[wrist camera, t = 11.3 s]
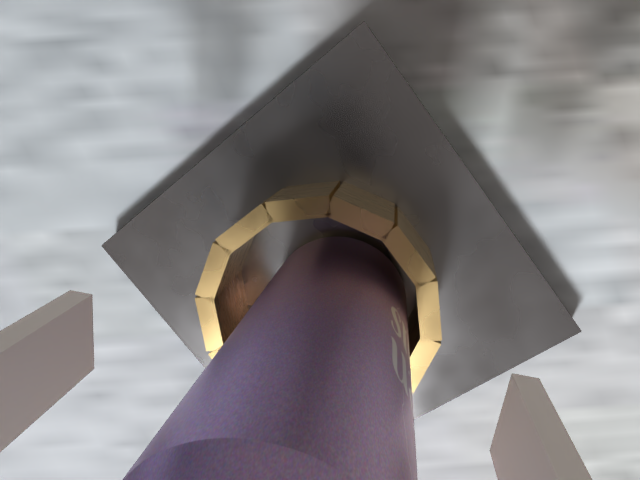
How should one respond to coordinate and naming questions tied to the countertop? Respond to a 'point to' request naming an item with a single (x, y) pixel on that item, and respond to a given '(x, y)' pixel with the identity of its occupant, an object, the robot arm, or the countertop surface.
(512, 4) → the countertop surface
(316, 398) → the beverage can
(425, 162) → the pipe socket
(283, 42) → the countertop surface
